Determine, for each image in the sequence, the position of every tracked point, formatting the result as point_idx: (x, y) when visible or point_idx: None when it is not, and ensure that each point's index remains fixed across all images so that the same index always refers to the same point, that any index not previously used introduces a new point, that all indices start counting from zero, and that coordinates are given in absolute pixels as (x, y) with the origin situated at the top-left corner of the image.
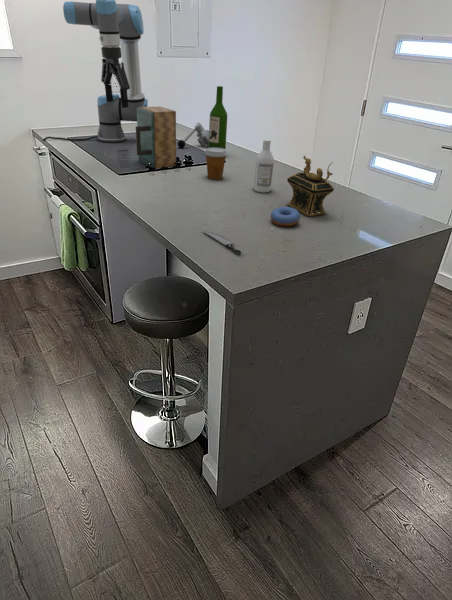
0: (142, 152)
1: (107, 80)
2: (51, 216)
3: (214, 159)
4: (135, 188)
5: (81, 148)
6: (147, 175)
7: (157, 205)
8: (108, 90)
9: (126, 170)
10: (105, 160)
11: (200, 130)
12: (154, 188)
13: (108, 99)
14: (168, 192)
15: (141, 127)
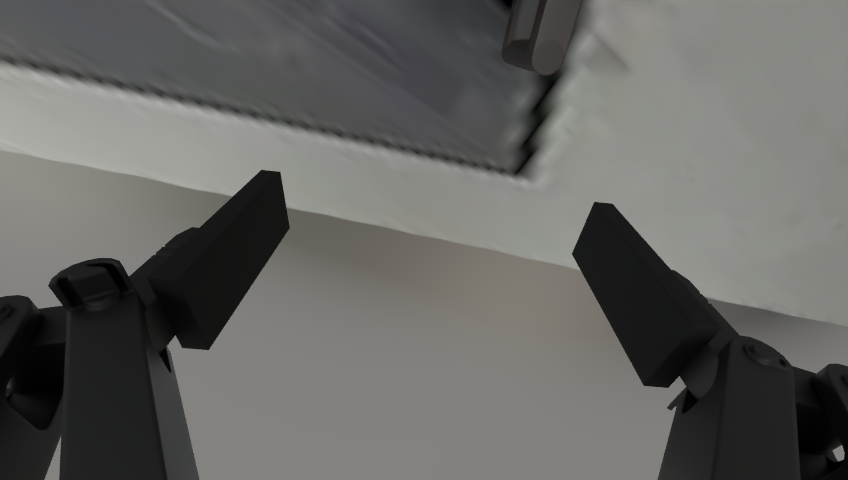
0: (530, 35)
1: (172, 392)
2: None
3: None
4: (671, 216)
5: (73, 77)
6: (601, 87)
7: (826, 254)
8: (236, 275)
9: (488, 117)
10: (312, 102)
11: None
12: (729, 169)
13: (279, 228)
14: (803, 157)
15: (571, 31)
